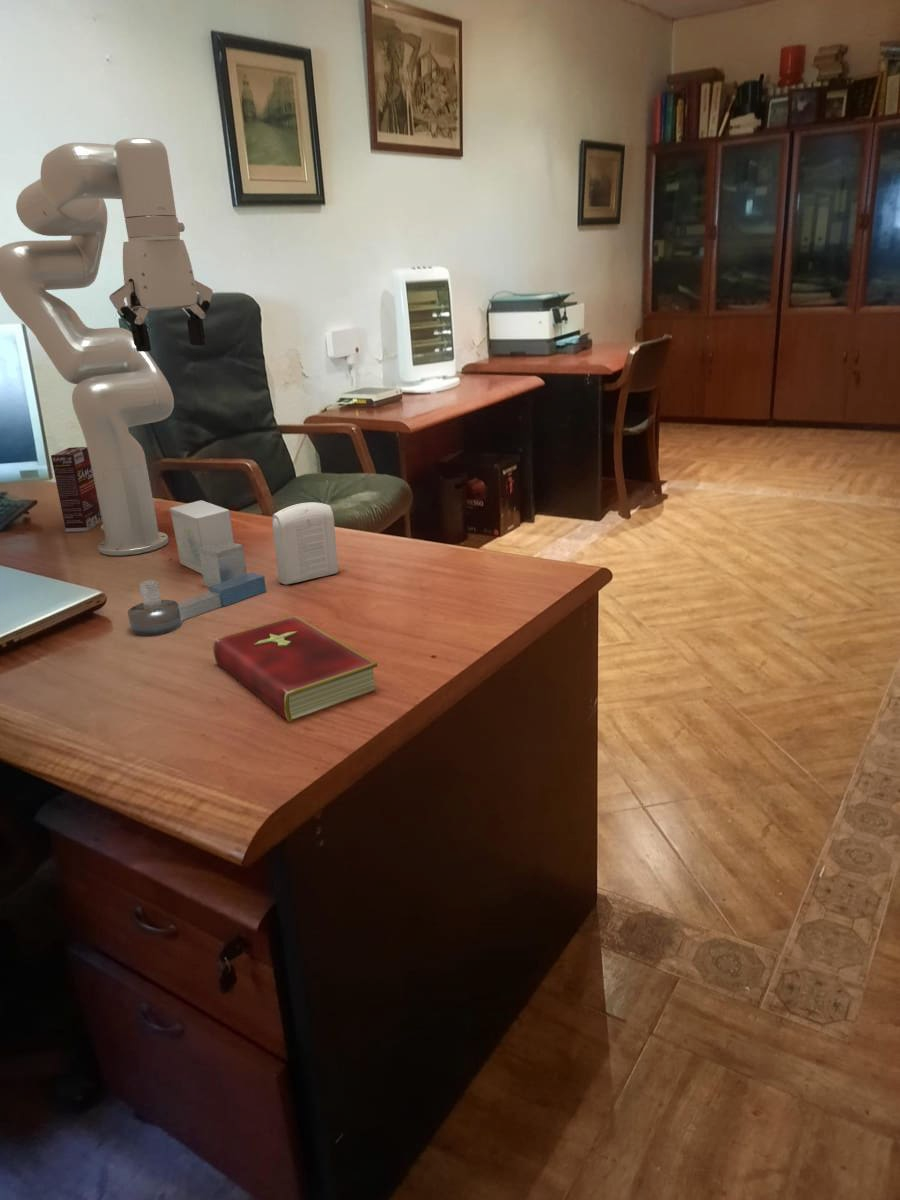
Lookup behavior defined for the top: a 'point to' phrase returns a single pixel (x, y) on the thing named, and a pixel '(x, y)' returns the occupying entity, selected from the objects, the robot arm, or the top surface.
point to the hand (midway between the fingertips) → (171, 348)
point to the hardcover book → (294, 666)
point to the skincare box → (199, 530)
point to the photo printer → (304, 542)
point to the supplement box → (76, 489)
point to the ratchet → (187, 604)
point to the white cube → (222, 562)
